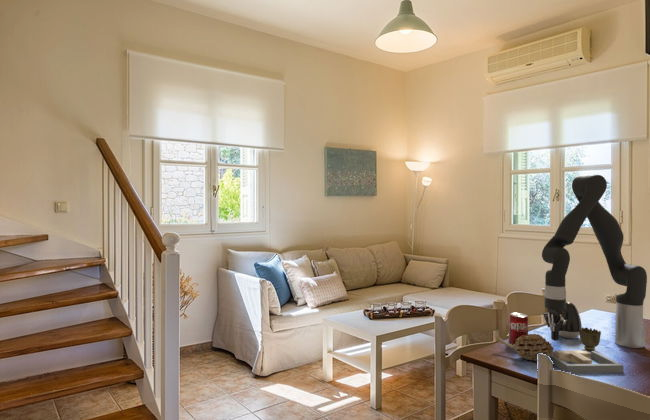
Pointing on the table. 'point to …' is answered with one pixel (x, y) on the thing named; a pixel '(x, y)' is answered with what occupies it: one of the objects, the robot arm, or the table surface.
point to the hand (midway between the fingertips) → (554, 340)
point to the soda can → (517, 326)
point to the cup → (589, 338)
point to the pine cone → (530, 346)
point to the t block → (574, 356)
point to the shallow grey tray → (590, 365)
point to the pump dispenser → (571, 322)
